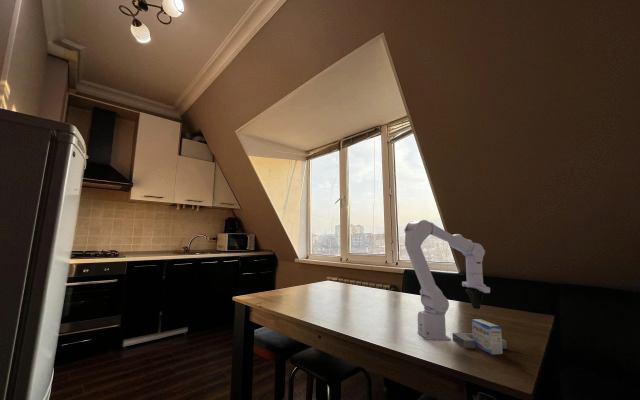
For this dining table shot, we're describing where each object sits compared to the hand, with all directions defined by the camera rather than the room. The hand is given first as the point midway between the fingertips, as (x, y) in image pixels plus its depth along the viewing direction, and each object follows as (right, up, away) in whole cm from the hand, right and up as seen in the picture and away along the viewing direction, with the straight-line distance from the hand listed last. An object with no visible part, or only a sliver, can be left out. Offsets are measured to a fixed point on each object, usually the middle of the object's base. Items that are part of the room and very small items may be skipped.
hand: (476, 308), depth 103 cm
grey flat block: (-6, -8, -12) cm, 15 cm away
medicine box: (-6, -8, -15) cm, 18 cm away
